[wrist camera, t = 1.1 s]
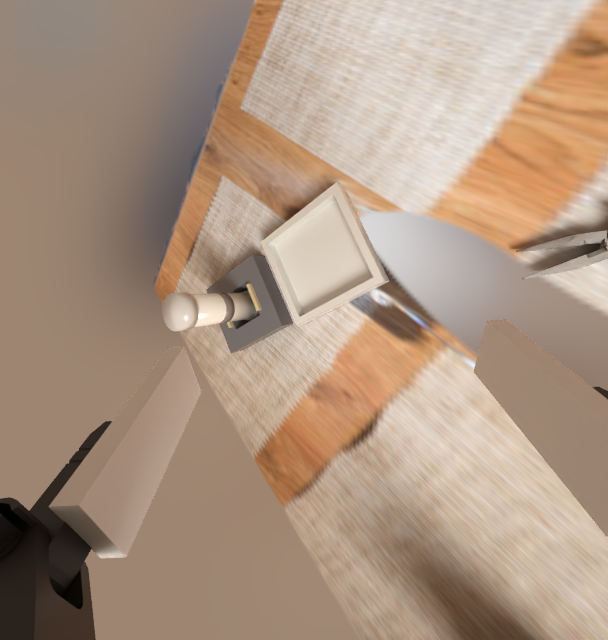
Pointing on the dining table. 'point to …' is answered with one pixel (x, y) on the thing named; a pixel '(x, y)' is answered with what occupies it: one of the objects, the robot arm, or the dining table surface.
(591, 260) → the pliers
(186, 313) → the cylinder
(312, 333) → the dining table surface
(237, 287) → the fuse socket
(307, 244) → the parts tray
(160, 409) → the robot arm
